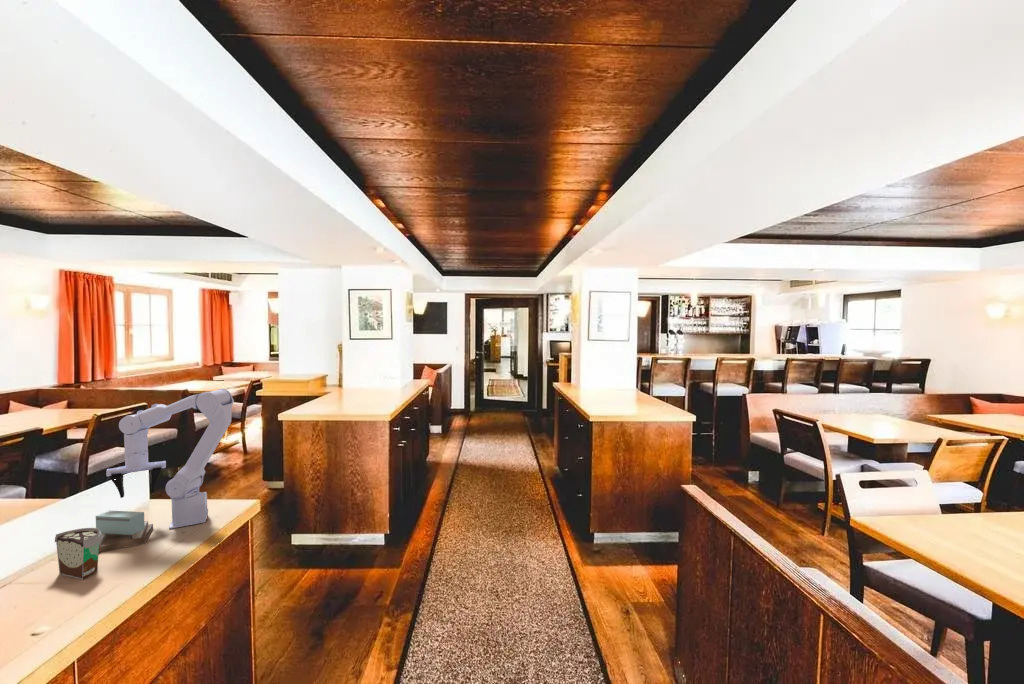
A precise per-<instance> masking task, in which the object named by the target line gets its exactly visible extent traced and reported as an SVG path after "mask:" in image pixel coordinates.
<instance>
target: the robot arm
mask: <svg viewBox="0 0 1024 684" xmlns="http://www.w3.org/2000/svg"><path fill="white" fill-rule="evenodd" d="M234 403H235V400H234V398H233V396H232V394H231V392H230V391H229V390H228V389H226V388H219V389H216V390H211V391H203V392H202V393H198V394H193V395H190V396H187V397H184V398H182V399H179V400H178V401H176V402H173V403H170V404H168V405H167V404H164V403H163V404H162V403H159V404H158V403H154V404H151V407H149V408H147V409H145V410H143V409H141V410H138V411H137V412H136V413H135V414H130V415H125V416H124V417H123V418H121V419H120V420H119V423H118V428H119V431H120V432H121V433H123V440H124V441H123V442H124V443H123V444H124V464H125V465H123V466H118V467H113V468H107V469H106V473H105V475H106V477H110V480H111V481H112V483H113V484H114V486H115V487H116V489H117V491H118V494H119V498H120V499H121V498H124V497H125V488H124V474H130V473H137V472H144V471H150V470H151V472H150V473H151V475H150V476H151V493H155V491H156V485H157V481H158V478H159V476H160V474H161V472H162V469H165V468H167V461H166V460H162V461H161V460H160V461H152V462H150V461H149V448H148V447H149V441H148V434H149V429H151V427H155V426H157V425H159V424H162V423H165V422H168V421H170V419H171V417H172V415H175V414H177V413H180V412H183V411H185V410H189V409H191V408H192V409H193V410H197V409H198V410H199V411H200V412H201V414H203V416H204V417H206V419H207V420H208V422H209V423H208V426H207V427H206V429H205V430H204V432H203V435H202V436H201V438H200V439H199V441H198V443H197V444H196V446H195V447H194V449H193V452H192V453H190V454H191V455H190V457H189V458H188V459H187V460H186V463H185V465H184V466H182V467H181V469H180V470H178V471H177V472H176V473H175V475H174V477H172V479H169V480H168V481H167V483H166V485H165V492H166V495H167V496H168V497H170V500H171V518H172V519H171V522H170V525H169V527H168V529H169V530H171V529H176V528H181V527H186V526H193V525H199V524H203V523H206V521H207V519H208V514H209V508H208V493H207V491H202V492H201V491H200V487H201V486H202V485H203V482H204V476H205V474H206V470H205V467H206V466H207V464H208V462H209V461H210V459H211V457H212V456H213V454H214V452H215V450H216V449H217V447H218V445H219V444H220V442H221V440H222V438H223V437H224V435H225V433H226V432H227V430H228V428H229V426H230V425H231V423H232V416H233V415H232V412H233V409H232V408H233V405H234ZM114 479H116V480H114Z"/></svg>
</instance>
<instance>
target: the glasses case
mask: <svg viewBox="0 0 1024 684" xmlns="http://www.w3.org/2000/svg"><path fill="white" fill-rule="evenodd" d="M144 521H145V512H144V511H129V510H127V511H126V510H108V511H105V512H102V513H99V514H97V515H95V528H97V529H99V530H100V531H101V533H108V534H127V535H132V534H134V533H136V532H139V531H141V530H143V529H145V523H144Z"/></svg>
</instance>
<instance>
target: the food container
mask: <svg viewBox="0 0 1024 684" xmlns="http://www.w3.org/2000/svg"><path fill="white" fill-rule="evenodd" d="M102 539H103V536H102V534H101V531H100V530H99V529H97V528H96V527H84V528H83V527H82V528H77V529H71V530H67V531H63V532H59V533H57V534H55V536H54V543H55V544H56V551H57V553H56V554H57V562H58V571H59V572H58V574H59V575H62V576H64V577H65V576H66V577H71V578H74V579H78V580H85V579H88V578H89V577H91V576H93V575H94V574H96V573H97V571H98V568H99V553H100V552H99V542H100V541H101V540H102Z"/></svg>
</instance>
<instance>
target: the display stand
mask: <svg viewBox="0 0 1024 684" xmlns="http://www.w3.org/2000/svg"><path fill="white" fill-rule="evenodd" d="M144 523H145V529H143V530H141V531H139V532H136V533H134V534H132V535H127V534H108V533H101V534H102V536H103V539H102V540H101V541H100V542H99V553H102V552H108V551H112V550H118V549H122V548H128V547H134V546H139V545H142V544H143V545H144V544H146V543H147V540H148V539H149V536H150V535H151V533H152V531H153V530H154V523H149V520H144Z"/></svg>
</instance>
